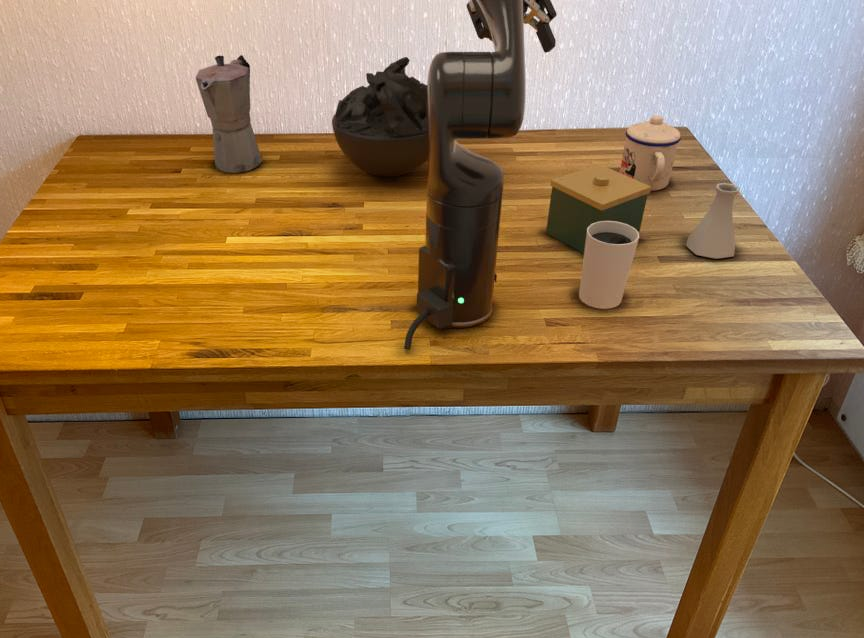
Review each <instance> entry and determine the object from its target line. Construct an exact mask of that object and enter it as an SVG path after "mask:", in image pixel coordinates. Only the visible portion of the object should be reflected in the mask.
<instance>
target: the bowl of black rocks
mask: <svg viewBox="0 0 864 638" xmlns="http://www.w3.org/2000/svg"><path fill="white" fill-rule="evenodd" d="M410 61H411V60H410V58H409V57H408V56H404V57H401V58H399V59H397V60H396V61H394V62H391V63H389V65H388V66H386V67H385V68H384V70H383V71H379V70H378V71H376V72H375V74H373V73H372V72H366V73H365V77H366V82H367V83H368V86H364V85H361V86H358V87H356V88H354V89H353V90H350V92H349V93H348V94H347V95H346V96H344V97H343V98H342V99H340V100H338V103H337V106H336V110H335V113H334V114H333V116H332V119H331V126H332V131H333V135H334V138H335V141H336V143H337V145H338V147H339V148H340V150H341V152H342V153H343V155H344V156H345V158H347V159H348V160H349V161H350V162H351V163H352V164H353V165H354V166H355V167H357V168H358V169H361V170H362V171H364V172H365V173H368V174H371V175H374V176H379V177H387V178H389V177H397V176H402V175H406V174H408V173H411V172H413V171H415V170H416V169H418V168H419V167H421V166H422V165H424V164H425V163H426V162H428V150H429V144H428V110H427V84H425V83H424V82H421V81H420V80H418V79H417V78H415V77H414V76H410V77H409V75H407V74H406V67H407V66H408V65H409V63H410Z"/></svg>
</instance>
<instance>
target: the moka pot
mask: <svg viewBox="0 0 864 638" xmlns="http://www.w3.org/2000/svg"><path fill="white" fill-rule="evenodd" d="M214 59H215V63H216V64H213V65H210V66H207V67H204V68H200V69H199V70H198V72H197V73H196V75H195V81H196V84H197V87H198V90H199V94H200V97H201V100H202V102H203V106H204V109H205V112H206V115H207V117H208V118H209V119H210V124H211V126H212V141H213V152H214V153H213V154H214V164H215V167H216V169H217V170H219V171H220V172H224V173H229V174H238V173H239V174H240V173H246V172H248V171H251V170H254V169H256V168H258V166H260V165H261V164H262V161H263V158H262V155H261V152H260V148H259V146H258V142H257V139H256V135H255V133H254V129H253V126H252V123H251V121H252V119H251V114H250V113H251V86H250V85H251V65H250V63H249V62H248V61H247V60H246V59H245V57H244V55H242V54H240V55H239V56H238V57H237V59H232V60H231V61H230V62H229V63H225V57H224V55H217V56H215V57H214Z"/></svg>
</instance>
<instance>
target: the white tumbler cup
mask: <svg viewBox="0 0 864 638" xmlns="http://www.w3.org/2000/svg"><path fill="white" fill-rule="evenodd" d="M639 240H640V231H639V232H638V231H637V230H636V229H635V228H633V227H631V226H629V225H627V224H624V223H620V222H615V221H600V222H596V223H593V224H591V225H590V226H589V227H588V228H587V235H586V243H585V251H584V254H583V260H582V267H581V273H580V274H581V275H580V284H579V290H578V291H579V292H578V298H579V299H580V301H581V302H582V303H583V304H585V305H587V306H588V307H592V308H595V309H602V310H605V309H606V310H607V309H614V308H616V307H618V306H619V305H620V304H621V303H622V300H623V297H624V293H625V289H626V286H627V282H628V279H629V276H630V272H631V269H632V265H633V261H634V257H635V254H636V251H637V247H638V244H639Z"/></svg>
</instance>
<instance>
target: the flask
mask: <svg viewBox="0 0 864 638" xmlns="http://www.w3.org/2000/svg"><path fill="white" fill-rule="evenodd" d="M715 191H716V192H715V193H716V194H715V197H714V199H713V201H712V203H711V205H710V207H709V208H708V210H707V211H706V213H705V214H704V215H703V217H701V218H702V219H700V221H699V223H698V224H697V225H696V226H695V227H694V229H693V230H692V231H691V233H690V234H689V236H688V237H687V240H686V244H685V247H686V248H688V249H689V250H690V251H691V252H692V253H693V254H695V255H696V256H701V257H705V258H709V259H715V260H717V259H724V258H725V259H726V258H731V257H734V256H735V251H736V250H735V249H736V243H735V242H736V241H735V232H734V223H733V222H734V221H733V220H734V219H733V209H734V201H735V198H736V196H737V195H738V194H739V191H740V187H739V186H737V185H736V184H735V183H729V182H720V183H716V187H715Z"/></svg>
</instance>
